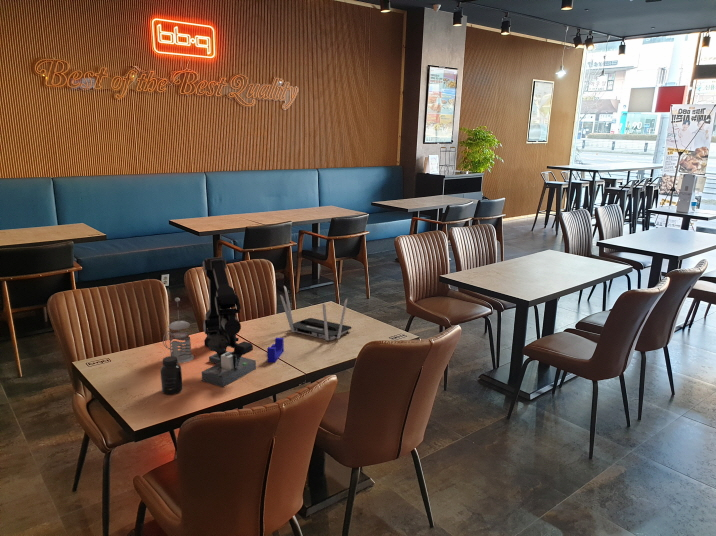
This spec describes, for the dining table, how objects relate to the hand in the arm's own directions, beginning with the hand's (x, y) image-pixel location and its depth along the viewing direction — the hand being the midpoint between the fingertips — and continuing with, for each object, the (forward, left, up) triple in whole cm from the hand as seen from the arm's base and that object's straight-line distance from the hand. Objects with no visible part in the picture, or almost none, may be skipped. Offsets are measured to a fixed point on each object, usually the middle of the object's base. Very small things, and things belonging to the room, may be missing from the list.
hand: (229, 365), depth 205 cm
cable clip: (+3, +22, -4) cm, 23 cm away
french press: (-27, +1, -4) cm, 27 cm away
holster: (-11, +9, -4) cm, 15 cm away
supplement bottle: (-8, -20, -4) cm, 22 cm away
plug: (0, 0, -4) cm, 4 cm away
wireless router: (+4, +52, -4) cm, 53 cm away
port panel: (0, 0, -4) cm, 4 cm away
